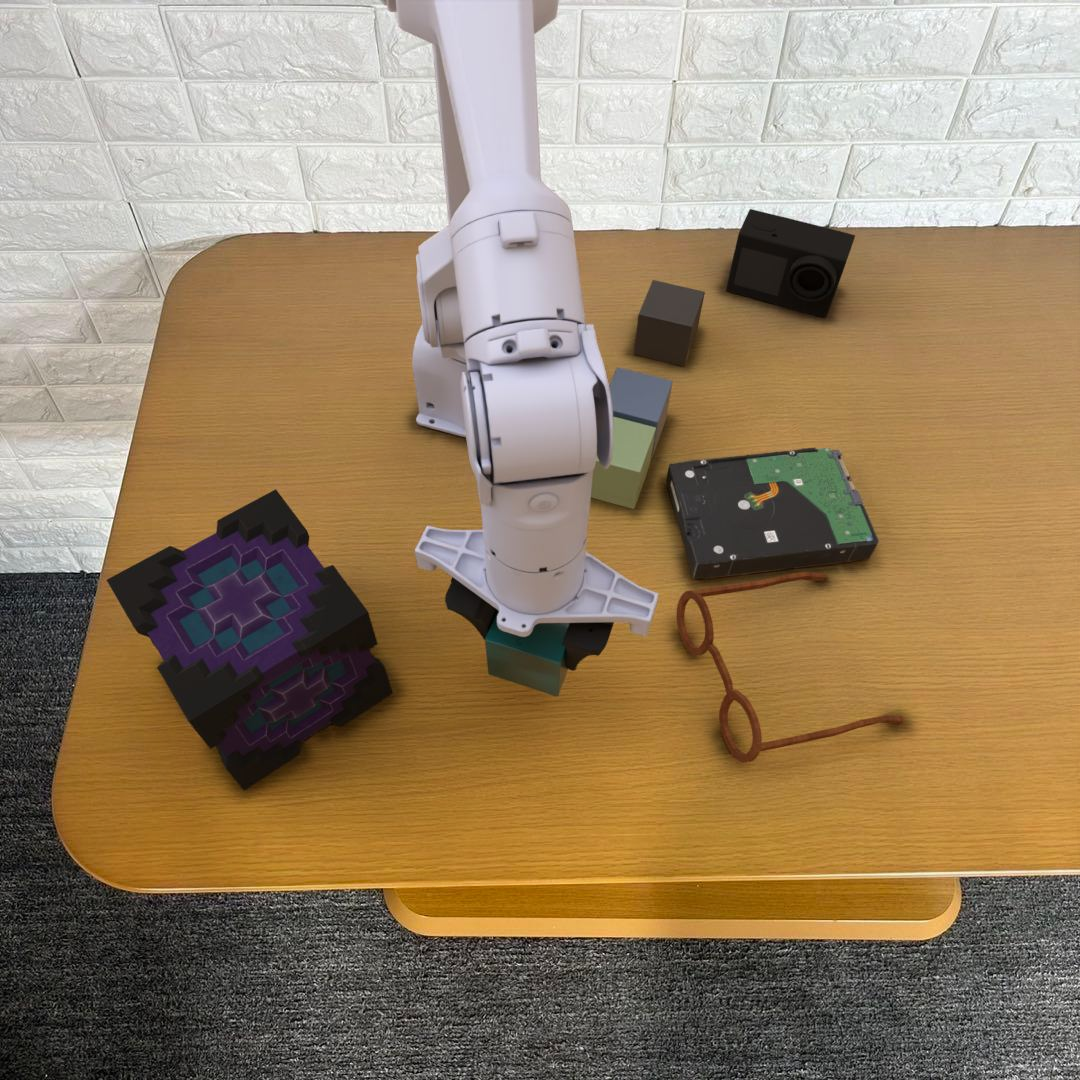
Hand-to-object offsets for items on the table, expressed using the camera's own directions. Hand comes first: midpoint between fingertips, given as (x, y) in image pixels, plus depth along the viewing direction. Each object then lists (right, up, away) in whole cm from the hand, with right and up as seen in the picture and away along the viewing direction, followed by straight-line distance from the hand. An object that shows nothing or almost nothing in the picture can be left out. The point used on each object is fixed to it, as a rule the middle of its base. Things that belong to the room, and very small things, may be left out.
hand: (534, 644), depth 60 cm
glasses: (+19, -3, +7) cm, 20 cm away
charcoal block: (+12, +26, +26) cm, 39 cm away
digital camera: (+24, +31, +30) cm, 50 cm away
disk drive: (+19, +8, +15) cm, 25 cm away
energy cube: (-19, -3, +6) cm, 20 cm away
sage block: (+7, +12, +17) cm, 22 cm away
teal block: (0, -1, +1) cm, 1 cm away
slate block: (+9, +16, +20) cm, 27 cm away
